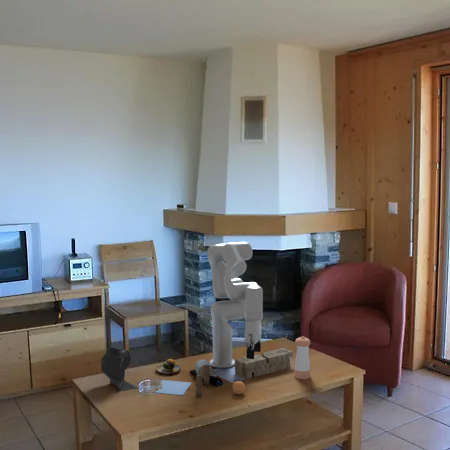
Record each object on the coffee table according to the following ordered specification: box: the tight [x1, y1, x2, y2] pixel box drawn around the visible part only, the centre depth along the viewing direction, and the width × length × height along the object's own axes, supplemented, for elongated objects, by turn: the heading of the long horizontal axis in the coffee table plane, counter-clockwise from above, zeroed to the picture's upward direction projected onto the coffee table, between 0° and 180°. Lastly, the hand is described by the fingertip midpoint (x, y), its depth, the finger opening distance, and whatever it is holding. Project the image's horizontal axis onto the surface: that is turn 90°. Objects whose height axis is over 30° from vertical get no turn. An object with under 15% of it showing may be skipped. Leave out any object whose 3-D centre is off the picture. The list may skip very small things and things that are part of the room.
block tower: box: [234, 347, 293, 380], centre depth 268 cm, size 8×8×29 cm
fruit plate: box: [155, 358, 182, 376], centre depth 268 cm, size 12×12×8 cm
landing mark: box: [153, 379, 192, 396], centre depth 248 cm, size 14×14×1 cm
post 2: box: [203, 365, 210, 387], centre depth 251 cm, size 3×3×9 cm
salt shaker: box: [293, 335, 311, 380], centre depth 260 cm, size 7×7×19 cm
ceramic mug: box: [194, 358, 219, 380], centre depth 261 cm, size 10×8×7 cm
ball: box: [232, 380, 246, 395], centre depth 241 cm, size 6×6×6 cm
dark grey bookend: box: [100, 346, 139, 392], centre depth 250 cm, size 14×15×18 cm
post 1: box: [195, 374, 203, 398], centre depth 238 cm, size 3×3×9 cm
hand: (253, 355), depth 236 cm, fingers open, 9 cm apart
